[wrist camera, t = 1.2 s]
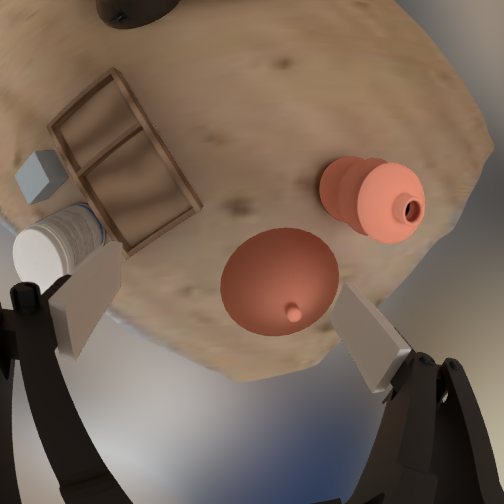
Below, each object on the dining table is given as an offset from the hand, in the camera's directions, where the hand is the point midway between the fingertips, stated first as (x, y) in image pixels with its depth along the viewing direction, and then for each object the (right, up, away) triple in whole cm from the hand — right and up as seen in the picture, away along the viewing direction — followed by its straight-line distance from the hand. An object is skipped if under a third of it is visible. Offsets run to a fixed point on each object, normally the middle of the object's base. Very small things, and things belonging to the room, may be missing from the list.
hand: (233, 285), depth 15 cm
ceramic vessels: (+9, +2, +29) cm, 31 cm away
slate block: (-33, +15, +20) cm, 41 cm away
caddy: (-19, +16, +21) cm, 32 cm away
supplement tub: (-27, +5, +24) cm, 37 cm away
